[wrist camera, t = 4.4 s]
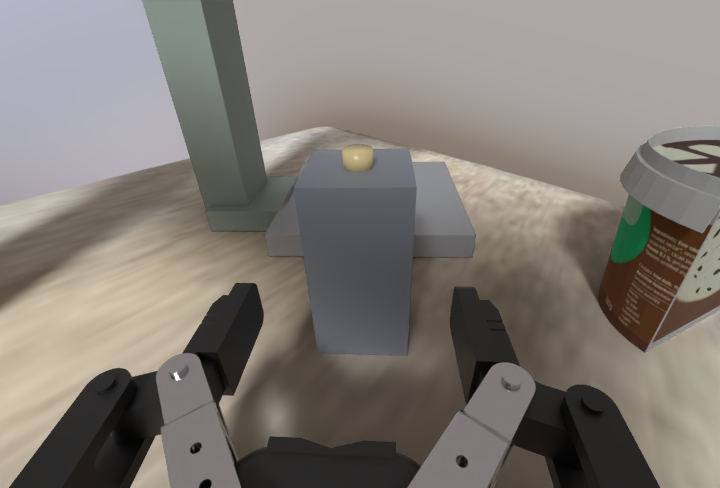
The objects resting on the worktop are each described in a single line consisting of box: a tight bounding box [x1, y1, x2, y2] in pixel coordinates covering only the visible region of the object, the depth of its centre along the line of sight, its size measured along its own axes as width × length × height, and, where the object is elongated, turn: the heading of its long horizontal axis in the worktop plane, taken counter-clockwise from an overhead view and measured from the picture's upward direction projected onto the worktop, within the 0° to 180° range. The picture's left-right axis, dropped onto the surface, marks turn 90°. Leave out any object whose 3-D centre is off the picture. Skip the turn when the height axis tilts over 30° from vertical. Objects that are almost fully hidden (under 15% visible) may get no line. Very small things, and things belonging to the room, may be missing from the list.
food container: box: [598, 125, 720, 352], centre depth 20 cm, size 12×6×10 cm, turn 115°
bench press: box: [142, 0, 476, 257], centre depth 28 cm, size 23×16×25 cm
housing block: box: [293, 144, 417, 355], centre depth 19 cm, size 5×5×11 cm
